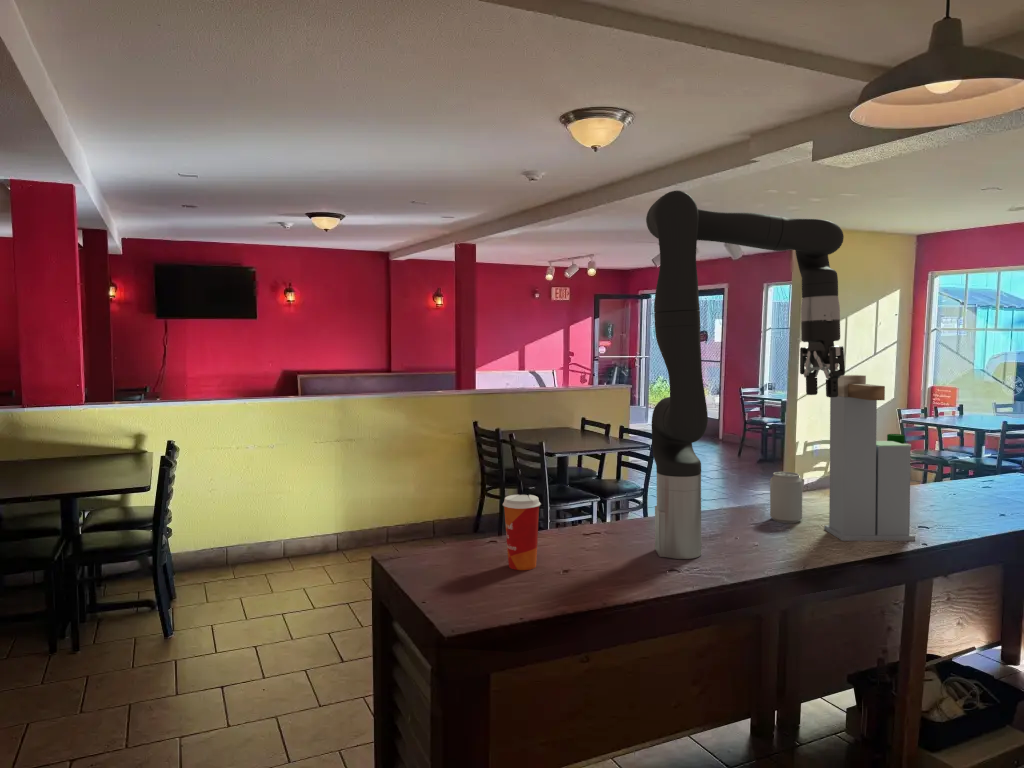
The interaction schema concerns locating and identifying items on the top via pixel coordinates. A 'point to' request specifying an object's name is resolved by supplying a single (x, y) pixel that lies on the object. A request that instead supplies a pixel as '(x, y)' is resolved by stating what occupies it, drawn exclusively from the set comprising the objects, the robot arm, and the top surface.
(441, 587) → the top surface
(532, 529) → the paper cup
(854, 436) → the stand
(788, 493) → the can
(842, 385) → the peg
